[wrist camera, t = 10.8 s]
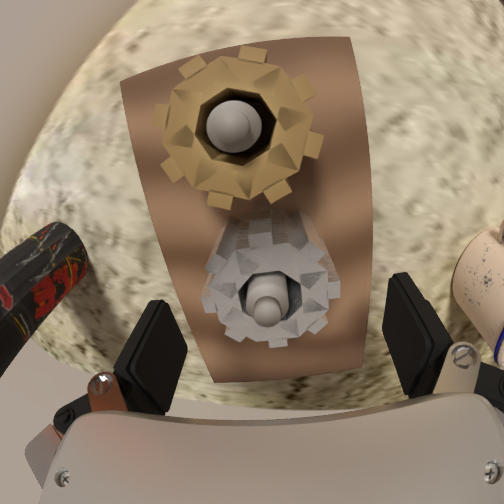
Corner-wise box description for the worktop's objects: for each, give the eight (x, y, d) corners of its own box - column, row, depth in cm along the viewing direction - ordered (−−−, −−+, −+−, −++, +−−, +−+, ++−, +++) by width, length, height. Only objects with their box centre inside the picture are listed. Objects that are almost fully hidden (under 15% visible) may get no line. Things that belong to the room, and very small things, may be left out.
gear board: (130, 83, 14) (54, 72, 7) (343, 43, 12) (392, -2, 5) (216, 371, 25) (204, 438, 18) (358, 355, 24) (376, 422, 17)
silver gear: (206, 210, 16) (183, 244, 12) (318, 193, 16) (338, 222, 11) (229, 300, 19) (219, 351, 15) (325, 289, 19) (339, 338, 14)
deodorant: (51, 208, 18) (-79, 306, 5) (96, 251, 20) (-21, 384, 7) (37, 253, 21) (-61, 349, 7) (77, 291, 22) (-10, 408, 9)
